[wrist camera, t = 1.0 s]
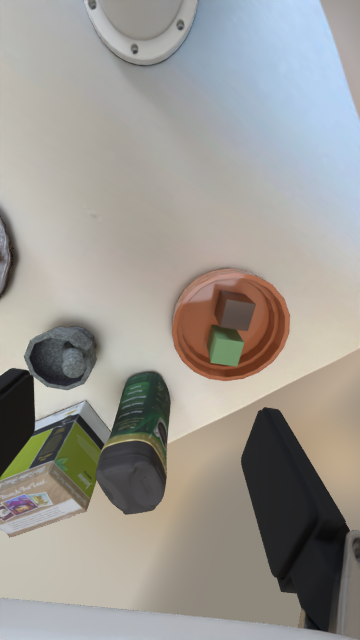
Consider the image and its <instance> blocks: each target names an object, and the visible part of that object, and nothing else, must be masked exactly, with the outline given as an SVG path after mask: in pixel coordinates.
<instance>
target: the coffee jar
mask: <svg viewBox="0 0 360 640" xmlns="http://www.w3.org/2000/svg"><path fill="white" fill-rule="evenodd" d="M170 404H171V401H170V396H169V392H168V389H167V387H166V385H165V383H164V381H163V379H162V378H161V377H160V376H159V375H158V374H155V373H142V374H138V375H135V376H133V377H131V378H129V379H128V380H127V382H126V384H125V387H124V390H123V393H122V397H121V401H120V405H119V408H118V412H117V415H116V418H115V422H114V425H113V428H112V431H111V434H110V437H109V439H108V441H107V442H106V443H105V445H104V446H103V448H102V450H101V453H100V457H99V461H98V465H97V469H96V474H95V475H96V479H97V481H98V483H99V485H100V487H101V488H102V490H103V492H104V493H105V495H106V496H107V497H108V499H109V500H110V501H111V502H112V504H114V505H115V506H116V507H117V508H119V509H120V510H121V511H123V513H124V514H136V513H142V512H147V511H152V510H154V509H155V508H156V506H157V505H158V504H159V503H160V502H161V500H162V498H163V496H164V492H165V485H166V474H167V472H166V471H167V468H166V452H167V437H168V425H169V415H170Z"/></svg>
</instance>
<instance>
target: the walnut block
mask: <svg viewBox="0 0 360 640" xmlns="http://www.w3.org/2000/svg"><path fill="white" fill-rule="evenodd" d="M255 306H256V304H255V303H254V302H253V301H252V300H251V299H250V298H249V297H248V296H247V295H245V294H241V293H235V292H229V291H223V290H220V292H219V296H218V300H217V305H216V309H215V313H214V315H215V317H216V319H217V322H218V324H219V326H220V327H223V328H230V329H236V330H242V331H248V329H249V326H250V323H251V319H252V316H253V313H254V310H255Z"/></svg>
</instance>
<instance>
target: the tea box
mask: <svg viewBox="0 0 360 640" xmlns="http://www.w3.org/2000/svg"><path fill="white" fill-rule="evenodd" d="M110 434H111V432H110V431H109V429H108V428H107V427H106V425H105V424H104V423H103V422H102V420H101V419H100V418H99V417H98V415H97V414H96V413H95V411H94V410H93V409H92V408H91V406H90V405H89V404H88V403H87V402H86V401H84V402H82V403H80V404H77V405H75V406H73V407H70V408H68V409H65V410H63V411H61V412H58V413H56V414H53V415H51V416H49V417H46V418H44V419H41V420H39V421H37V422H35V430H34V433H33V435H32V437H31V438H30V439H29V441H28V442H27V443H26V445H25V446H24V447H23V448H22V450H21V451H20V452H19V454H18V455H17V456H16V458H15V459H14V460H13V461H12V463H11V464H10V465H9V467H8V468H7V469H6V471H5V472H4V473H3V475H2V476H1V477H0V530H2V531H3V532H4V533H6V534H7V535H8V536H9V537H14V536H16V535H20V534H22V533H25V532H28V531H31V530H34V529H36V528H40V527H43V526H45V525H48V524H52V523H54V522H57V521H60V520H63V519H66V518H69V517H71V516H75V515H76V514H80V513H84V512H86V511H87V508H88V505H89V502H90V499H91V496H92V493H93V490H94V487H95V483H96V480H97V479H96V475H95V474H96V469H97V465H98V461H99V457H100V453H101V450H102V448H103V446H104V445H105V443H106V442H107V441H108V439H109V437H110Z"/></svg>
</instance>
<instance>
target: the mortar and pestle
mask: <svg viewBox="0 0 360 640" xmlns="http://www.w3.org/2000/svg"><path fill="white" fill-rule="evenodd" d="M95 346H96V344H95V341H94V337H93V335H92V334H91V333H90V332H88V331H87V330H86V329H85V328H81V327H76V326H72V327H70V328H65V327H57V328H54V329H52V330H50V331H48V332H45V333H43V334H41V335H38V336H36V337H35V338H33V339H32V340H30V342H29V345H28V347H27V350H26V353H25V355H24V358H25V361H26V363H27V366H28V368H29V371H30V374H31V375H33V376H34V377H35V378H36V379H38V380H39V381H40V382H42V383H43V384H44V385H46V386H47V387H51V388H57V389H63V390H69V389H72V388H75V387H77V386H80V385H82V384H84V383H85V382H86V380H87V378H88V377H89V375H90V373H91V371H92V369H93V367H94V365H95V363H96V360H97V358H96V354H95V351H94V348H95Z"/></svg>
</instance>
